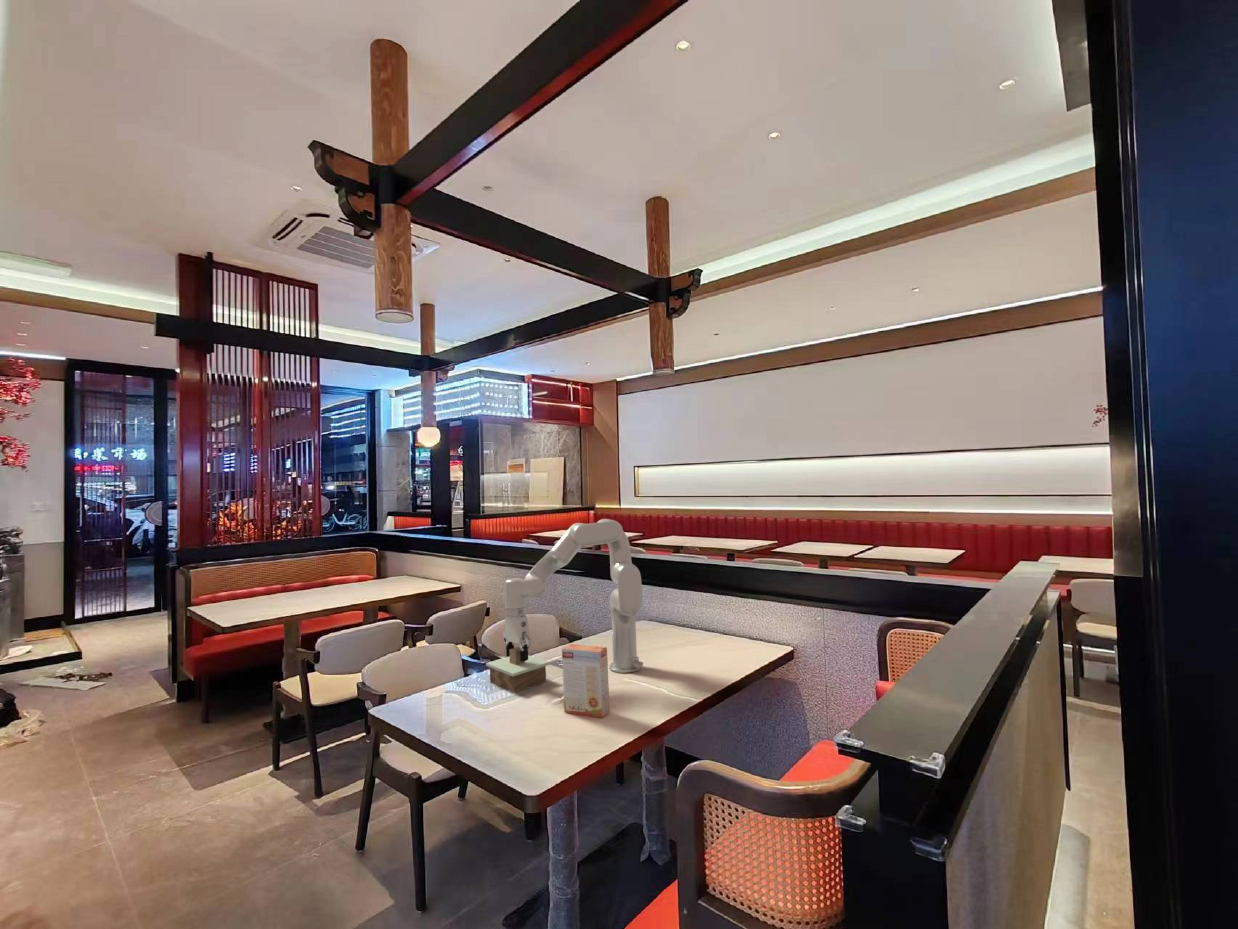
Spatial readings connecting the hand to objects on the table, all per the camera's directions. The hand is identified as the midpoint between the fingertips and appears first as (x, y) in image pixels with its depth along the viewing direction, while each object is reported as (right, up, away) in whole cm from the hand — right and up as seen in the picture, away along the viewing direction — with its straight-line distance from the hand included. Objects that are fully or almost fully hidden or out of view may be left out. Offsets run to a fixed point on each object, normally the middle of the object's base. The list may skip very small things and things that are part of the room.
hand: (517, 658), depth 207 cm
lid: (0, -3, 0) cm, 3 cm away
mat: (+14, -10, +13) cm, 21 cm away
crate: (0, -10, 0) cm, 10 cm away
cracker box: (+28, -8, -28) cm, 40 cm away
